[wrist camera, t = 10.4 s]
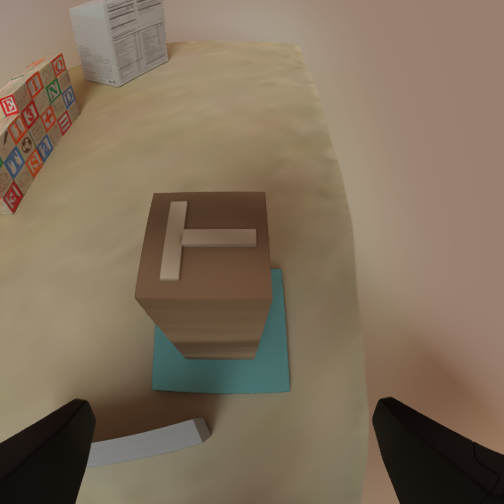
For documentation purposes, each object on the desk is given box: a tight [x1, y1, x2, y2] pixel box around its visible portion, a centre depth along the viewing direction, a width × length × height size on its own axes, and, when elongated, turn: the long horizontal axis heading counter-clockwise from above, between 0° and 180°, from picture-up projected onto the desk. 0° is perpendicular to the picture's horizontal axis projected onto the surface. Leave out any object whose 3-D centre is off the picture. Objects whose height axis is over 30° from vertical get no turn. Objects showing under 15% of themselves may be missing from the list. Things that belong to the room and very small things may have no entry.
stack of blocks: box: [0, 53, 80, 214], centre depth 28 cm, size 21×6×12 cm, turn 176°
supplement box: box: [69, 0, 168, 87], centre depth 39 cm, size 13×13×18 cm
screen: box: [86, 417, 211, 467], centre depth 14 cm, size 2×13×6 cm, turn 113°
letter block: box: [135, 192, 273, 360], centre depth 17 cm, size 5×5×12 cm
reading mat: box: [152, 269, 290, 394], centre depth 22 cm, size 10×10×1 cm
